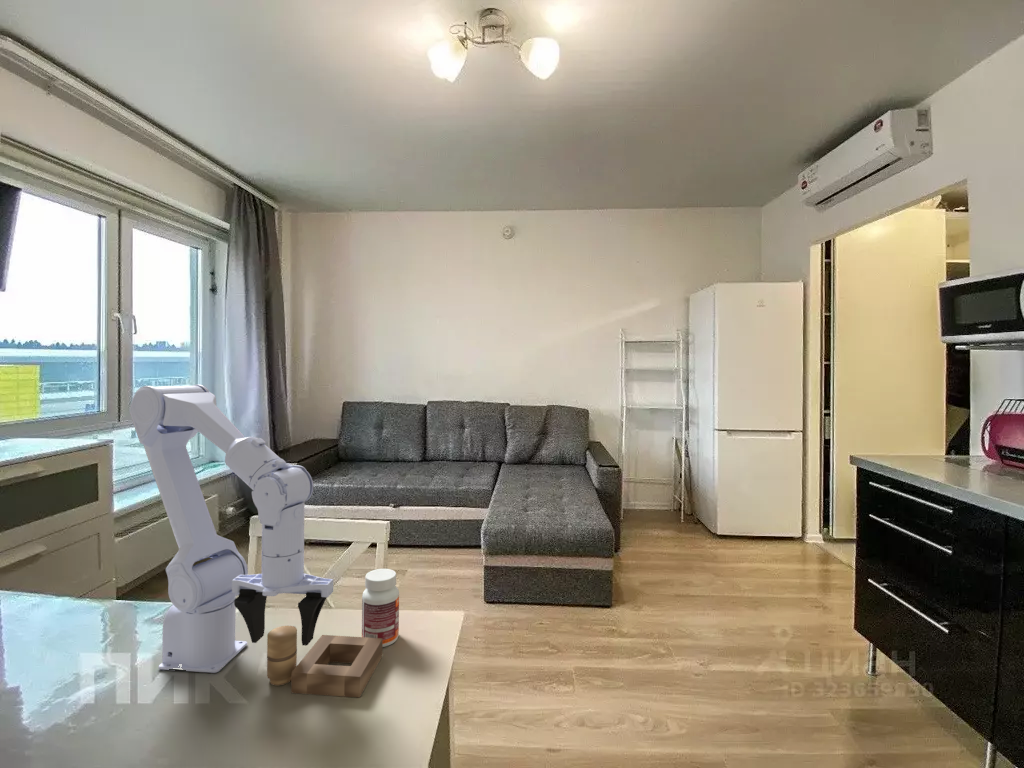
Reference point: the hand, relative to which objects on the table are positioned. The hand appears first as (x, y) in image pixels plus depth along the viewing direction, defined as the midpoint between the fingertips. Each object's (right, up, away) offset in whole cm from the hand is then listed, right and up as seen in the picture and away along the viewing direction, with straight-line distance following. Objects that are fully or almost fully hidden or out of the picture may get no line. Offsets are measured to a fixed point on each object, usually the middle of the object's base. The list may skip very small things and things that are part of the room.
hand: (282, 640), depth 74 cm
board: (+8, -6, +2) cm, 10 cm away
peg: (0, -6, 0) cm, 6 cm away
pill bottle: (+11, -6, +12) cm, 17 cm away
